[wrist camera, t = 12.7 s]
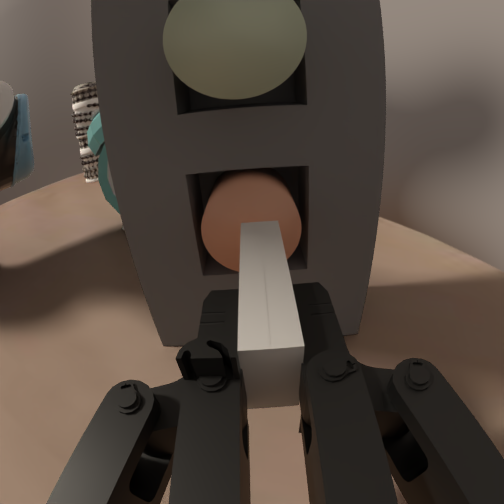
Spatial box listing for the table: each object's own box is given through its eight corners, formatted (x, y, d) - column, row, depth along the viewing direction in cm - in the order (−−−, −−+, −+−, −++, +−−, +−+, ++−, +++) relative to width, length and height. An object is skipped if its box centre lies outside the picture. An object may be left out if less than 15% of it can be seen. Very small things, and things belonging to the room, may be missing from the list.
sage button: (189, 102, 13) (181, 10, 10) (293, 94, 13) (287, 1, 10) (169, 107, 9) (159, -13, 7) (310, 96, 9) (301, -26, 7)
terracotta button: (215, 240, 20) (205, 166, 17) (291, 235, 20) (290, 160, 17) (208, 275, 16) (194, 188, 14) (300, 269, 16) (301, 180, 14)
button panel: (176, 298, 25) (130, -85, 8) (340, 287, 25) (325, -101, 8) (163, 345, 20) (104, -115, 3) (357, 333, 20) (343, -136, 3)
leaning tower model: (118, 168, 73) (105, 80, 60) (115, 176, 66) (99, 78, 53) (88, 176, 71) (73, 90, 58) (81, 185, 63) (63, 89, 51)
